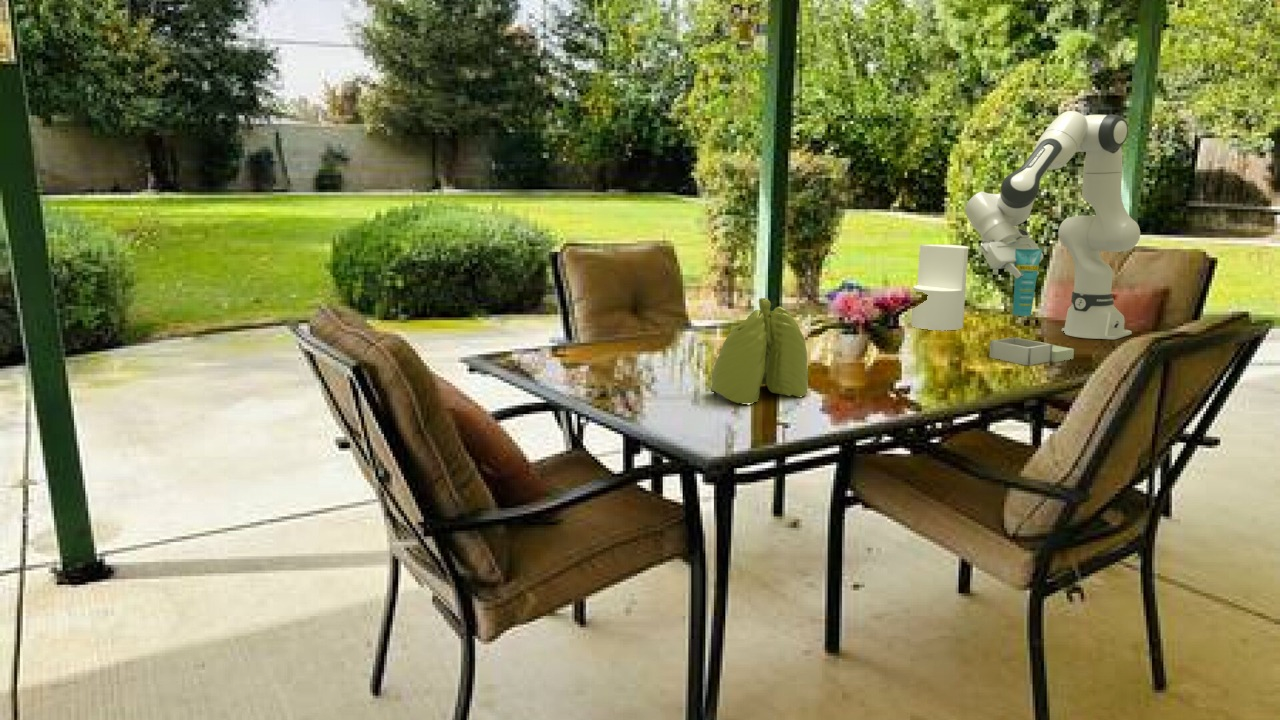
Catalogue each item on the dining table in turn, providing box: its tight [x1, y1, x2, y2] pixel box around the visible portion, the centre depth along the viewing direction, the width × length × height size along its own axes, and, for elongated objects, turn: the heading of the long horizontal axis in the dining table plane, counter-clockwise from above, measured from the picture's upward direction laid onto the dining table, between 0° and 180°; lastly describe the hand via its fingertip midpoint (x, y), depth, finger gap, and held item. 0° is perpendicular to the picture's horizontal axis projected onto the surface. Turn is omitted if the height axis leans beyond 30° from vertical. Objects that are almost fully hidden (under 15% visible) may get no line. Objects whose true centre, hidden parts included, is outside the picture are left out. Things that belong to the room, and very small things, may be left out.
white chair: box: [910, 244, 969, 332], centre depth 314 cm, size 17×17×28 cm
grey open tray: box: [988, 336, 1075, 366], centre depth 265 cm, size 18×16×5 cm
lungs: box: [710, 297, 809, 404], centre depth 224 cm, size 25×16×24 cm, turn 116°
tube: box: [1012, 248, 1043, 317], centre depth 260 cm, size 7×5×19 cm, turn 94°
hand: (1028, 276), depth 259 cm, fingers closed on tube, 5 cm apart
